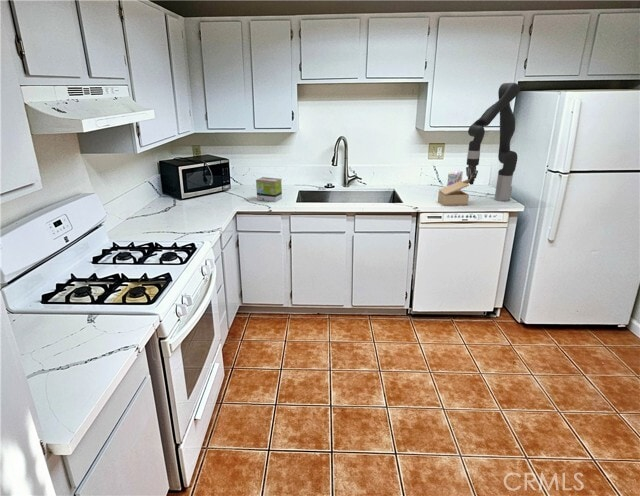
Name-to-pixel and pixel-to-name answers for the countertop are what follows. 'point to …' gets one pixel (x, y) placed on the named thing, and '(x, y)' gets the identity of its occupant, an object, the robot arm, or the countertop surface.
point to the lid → (455, 187)
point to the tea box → (269, 189)
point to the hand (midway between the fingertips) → (470, 183)
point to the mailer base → (453, 198)
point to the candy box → (454, 177)
